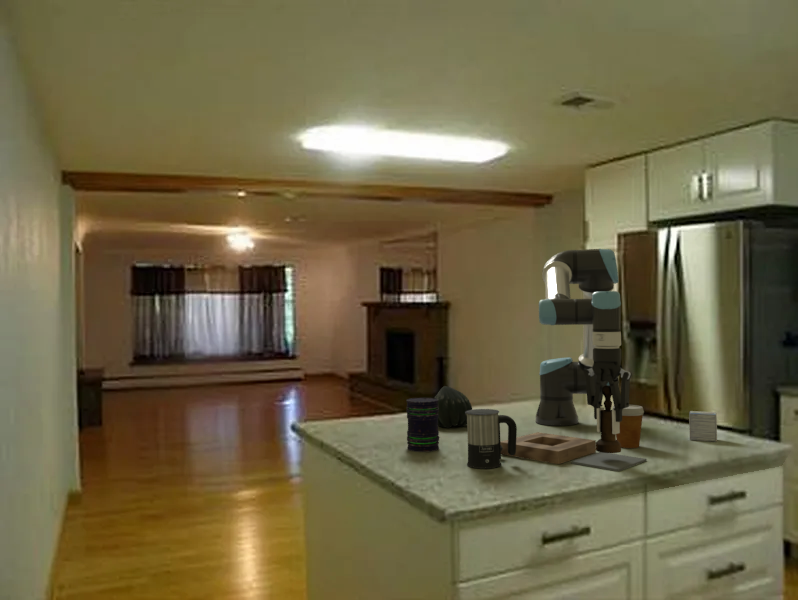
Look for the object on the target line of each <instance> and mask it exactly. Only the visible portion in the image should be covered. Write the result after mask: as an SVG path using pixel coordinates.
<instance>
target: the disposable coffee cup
mask: <svg viewBox="0 0 798 600" xmlns="http://www.w3.org/2000/svg"><path fill="white" fill-rule="evenodd" d="M613 408H614V405H612V408H611V410H614V409H613ZM644 413H645V411H644V408H643V406H641V405H637V404H629V407H627V408H624V409H623V410H622V421H621V422H620V433H618V434H616V440H618V441H619V442H620V443H621V449H637V448H639V447H640V443H641V434H642V433H641V432H642V427H643V426H642V424H643V415H644Z"/></svg>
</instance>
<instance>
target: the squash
mask: <svg viewBox="0 0 798 600" xmlns="http://www.w3.org/2000/svg"><path fill="white" fill-rule="evenodd" d="M434 398H436V399H438V408H439V412H438V415H439V416H438V427H440V428H446V429H447V428H448V429H449V428H452V426H458V427H465V426H467V415H466V413H465V412H466V411H468V410H473V406H472V404H471V402H470V399H469V398H468V397H467V396H466V395H465V394H464V393H463V392H461V391H459V390H457V389H455V388H453V387H450V386H446V385H444V386H443V387H441V388H440V389H439V391H438V392H437V394H436V395H435V396H434Z"/></svg>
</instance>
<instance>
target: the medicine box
mask: <svg viewBox="0 0 798 600" xmlns="http://www.w3.org/2000/svg"><path fill="white" fill-rule="evenodd" d="M717 418H718V417H717V412H716V411H700V410H699V411H696V410H694V411H693V410H690V411H689V414H688V419H689V420H688V422H689V423H688V427H689V441H699V442H700V441H701V442H702V441H703V442H716V443H717V441H718V426H717V425H718V422H717V421H718V419H717Z"/></svg>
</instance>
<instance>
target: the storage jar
mask: <svg viewBox="0 0 798 600" xmlns="http://www.w3.org/2000/svg"><path fill="white" fill-rule="evenodd" d="M406 403H407V404H406V418H407V431H406V433H407V434H406V435H407V436H406V441H407V442H406V443H407V450H408V451H410V452H415V453H417V452H418V453H429V452H430V453H431V452H435V451H439V450H440V447H439V445H440V436H439V435H440V433H439V426H438V416H439V415H438V412H439V408H438V399H436V398H435V397H411V398H407V399H406Z"/></svg>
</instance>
